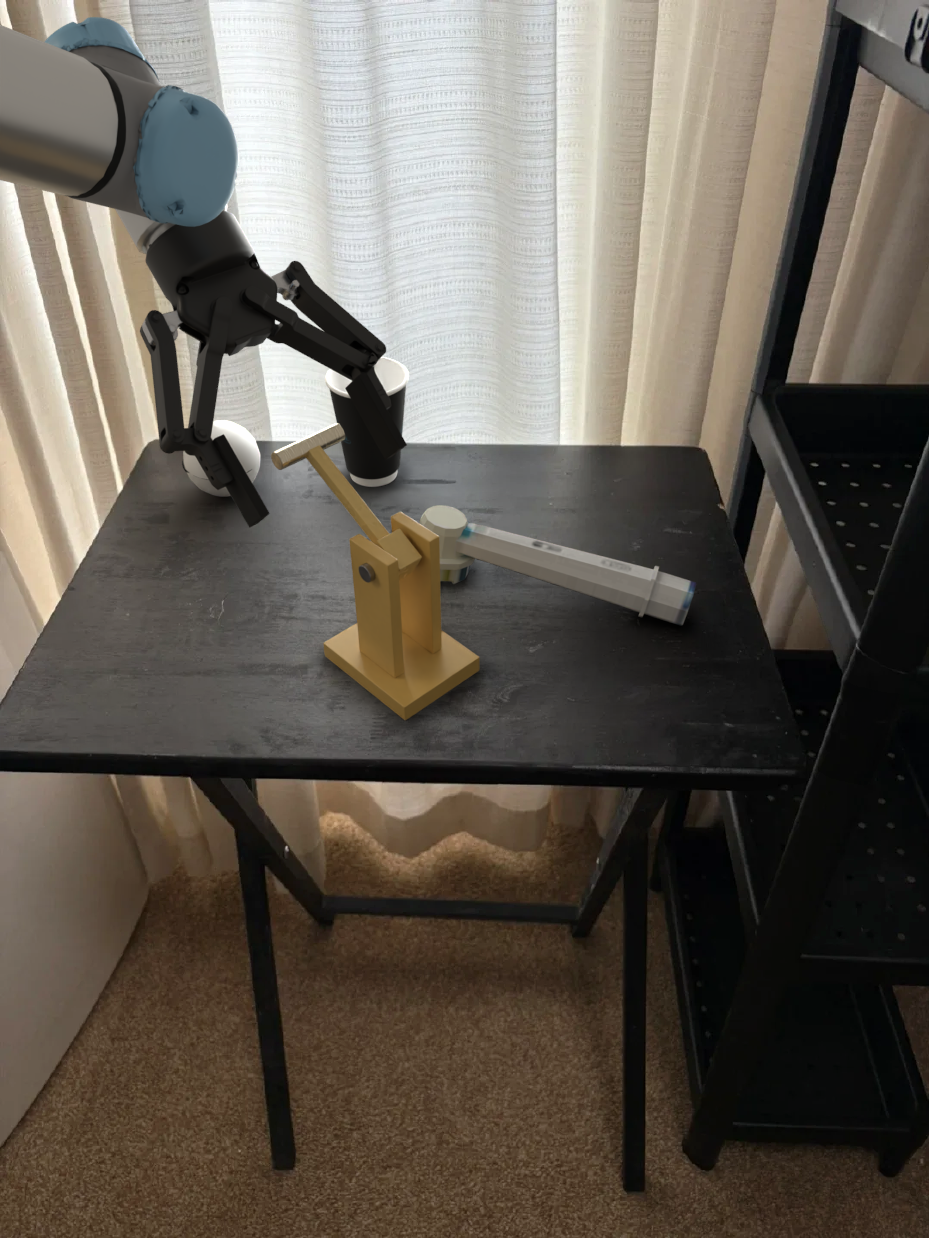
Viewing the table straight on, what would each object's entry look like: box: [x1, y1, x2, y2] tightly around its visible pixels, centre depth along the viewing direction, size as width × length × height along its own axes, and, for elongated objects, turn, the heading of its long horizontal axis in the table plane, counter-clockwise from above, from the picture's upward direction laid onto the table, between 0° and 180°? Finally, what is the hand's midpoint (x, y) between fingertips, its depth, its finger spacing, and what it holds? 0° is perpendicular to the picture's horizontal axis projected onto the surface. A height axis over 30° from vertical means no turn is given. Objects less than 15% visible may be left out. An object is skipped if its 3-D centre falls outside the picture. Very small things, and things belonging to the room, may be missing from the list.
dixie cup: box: [324, 356, 410, 488], centre depth 102 cm, size 8×8×11 cm
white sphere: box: [181, 419, 261, 498], centre depth 100 cm, size 10×7×7 cm
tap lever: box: [270, 422, 422, 580], centre depth 79 cm, size 13×6×2 cm, turn 45°
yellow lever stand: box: [322, 511, 481, 721], centre depth 81 cm, size 10×8×13 cm
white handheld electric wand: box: [418, 505, 697, 627], centre depth 90 cm, size 5×7×25 cm
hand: (331, 485), depth 80 cm, fingers open, 12 cm apart
